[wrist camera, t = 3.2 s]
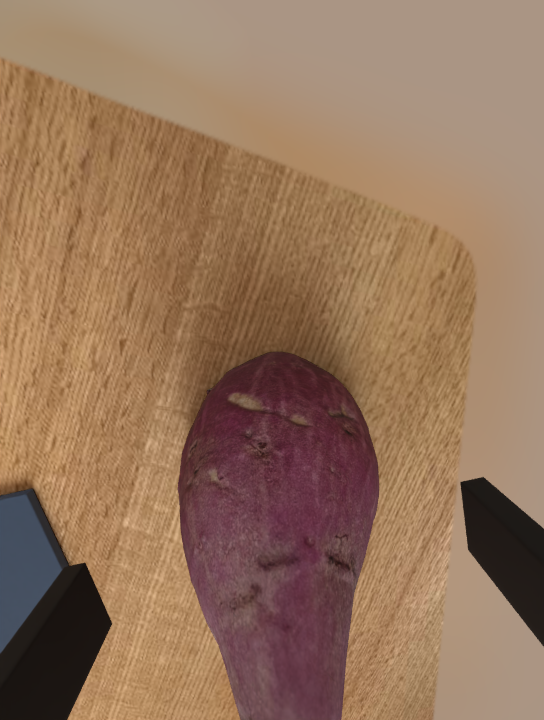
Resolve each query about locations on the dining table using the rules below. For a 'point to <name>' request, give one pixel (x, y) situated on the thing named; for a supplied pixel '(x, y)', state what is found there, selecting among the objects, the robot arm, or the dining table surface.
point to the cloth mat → (24, 559)
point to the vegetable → (279, 530)
